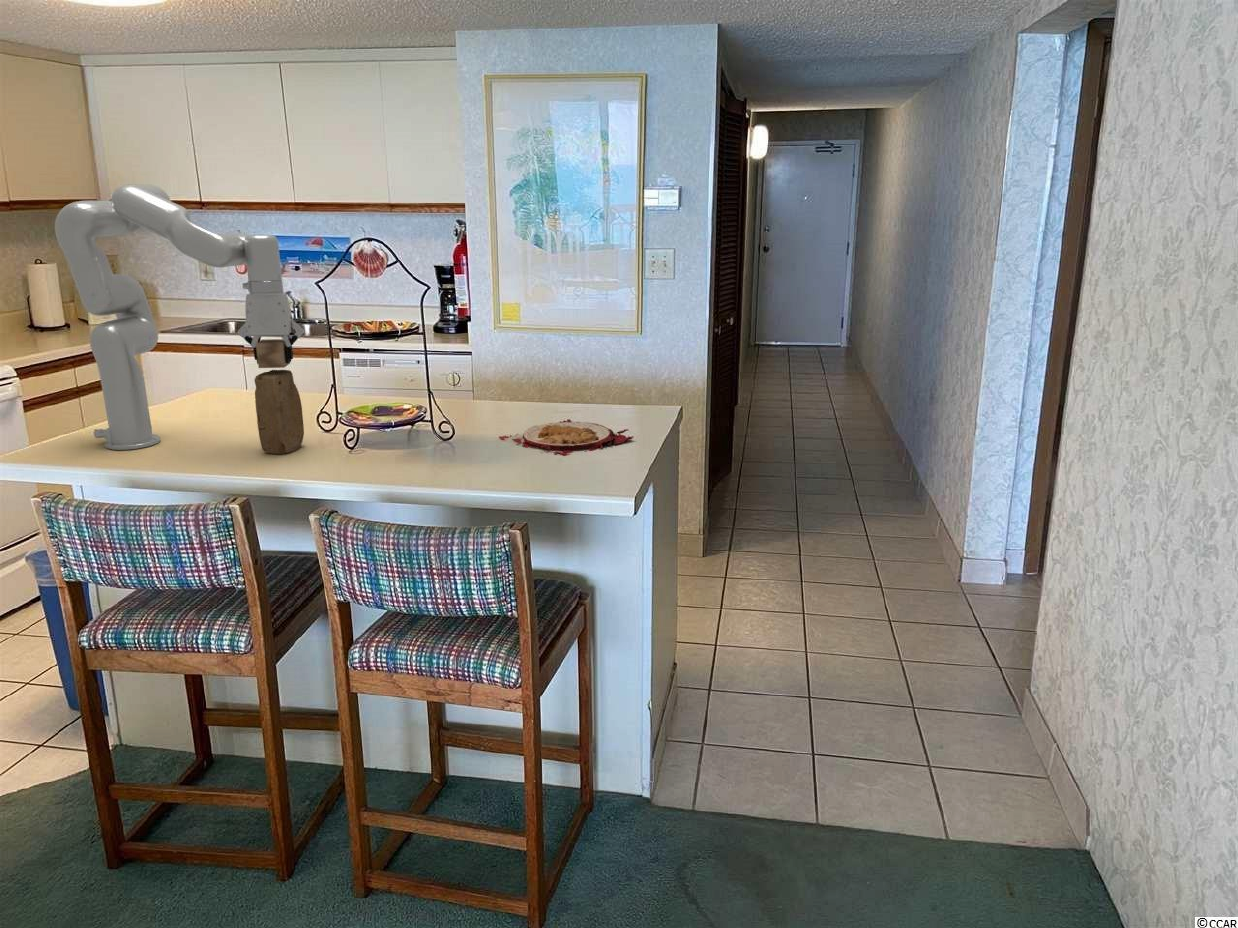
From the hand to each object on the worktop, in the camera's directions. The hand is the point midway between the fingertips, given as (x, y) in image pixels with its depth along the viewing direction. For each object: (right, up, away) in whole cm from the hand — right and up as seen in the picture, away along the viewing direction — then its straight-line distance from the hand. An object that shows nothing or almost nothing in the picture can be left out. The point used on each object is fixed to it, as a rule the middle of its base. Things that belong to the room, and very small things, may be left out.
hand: (274, 362), depth 216 cm
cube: (0, -1, 0) cm, 1 cm away
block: (0, -22, +6) cm, 22 cm away
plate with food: (+70, -19, +16) cm, 75 cm away
